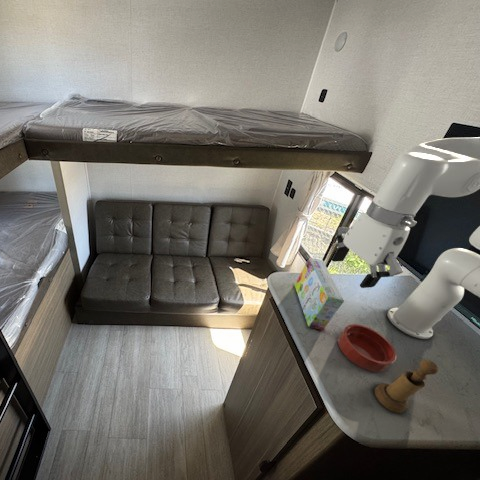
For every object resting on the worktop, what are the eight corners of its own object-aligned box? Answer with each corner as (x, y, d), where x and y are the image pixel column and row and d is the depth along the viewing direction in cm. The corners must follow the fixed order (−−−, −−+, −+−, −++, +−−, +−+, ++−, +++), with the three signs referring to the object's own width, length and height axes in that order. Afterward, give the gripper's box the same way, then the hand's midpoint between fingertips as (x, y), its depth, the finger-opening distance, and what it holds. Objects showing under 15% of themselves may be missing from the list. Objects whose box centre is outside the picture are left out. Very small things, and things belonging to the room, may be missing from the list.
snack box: (324, 331, 86) (345, 301, 77) (307, 327, 87) (326, 297, 78) (307, 287, 103) (323, 258, 95) (293, 284, 104) (307, 256, 95)
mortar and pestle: (410, 412, 66) (460, 377, 56) (387, 413, 66) (434, 379, 55) (389, 385, 72) (431, 350, 61) (368, 387, 71) (407, 351, 61)
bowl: (361, 331, 87) (369, 322, 84) (397, 369, 76) (407, 360, 73) (327, 336, 84) (334, 326, 82) (360, 376, 74) (369, 367, 71)
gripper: (445, 235, 48) (393, 297, 57) (371, 196, 62) (339, 251, 71) (412, 237, 47) (364, 300, 56) (343, 196, 61) (315, 252, 70)
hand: (350, 272), depth 64 cm, fingers open, 9 cm apart
